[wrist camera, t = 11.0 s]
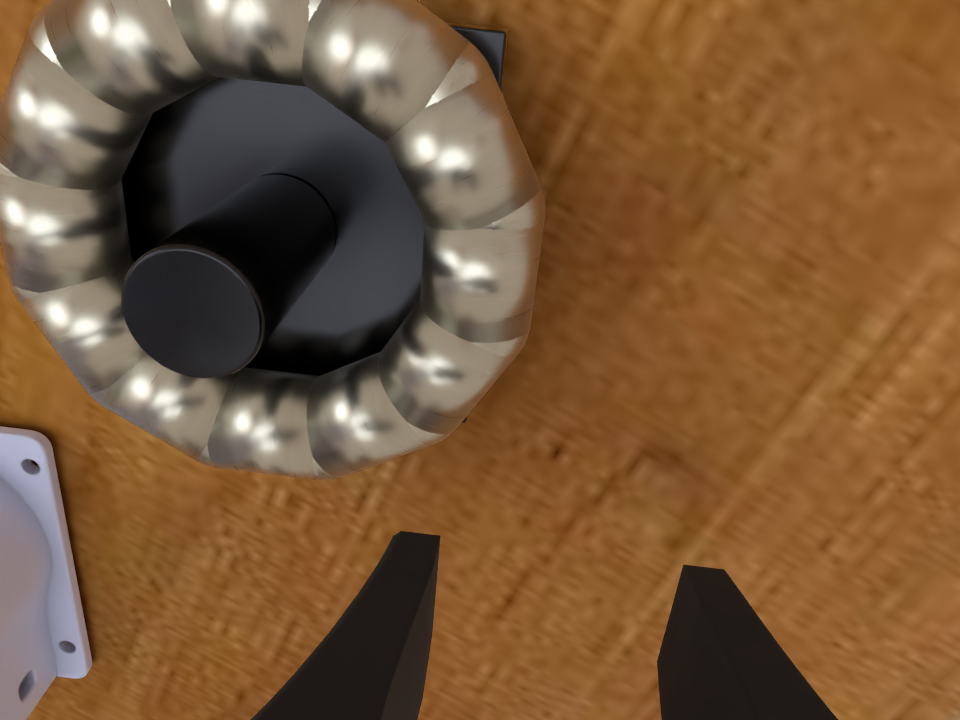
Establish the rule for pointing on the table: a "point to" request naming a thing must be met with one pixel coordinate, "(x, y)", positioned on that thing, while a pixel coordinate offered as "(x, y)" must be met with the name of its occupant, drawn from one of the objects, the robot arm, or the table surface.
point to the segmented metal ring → (357, 93)
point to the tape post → (270, 230)
